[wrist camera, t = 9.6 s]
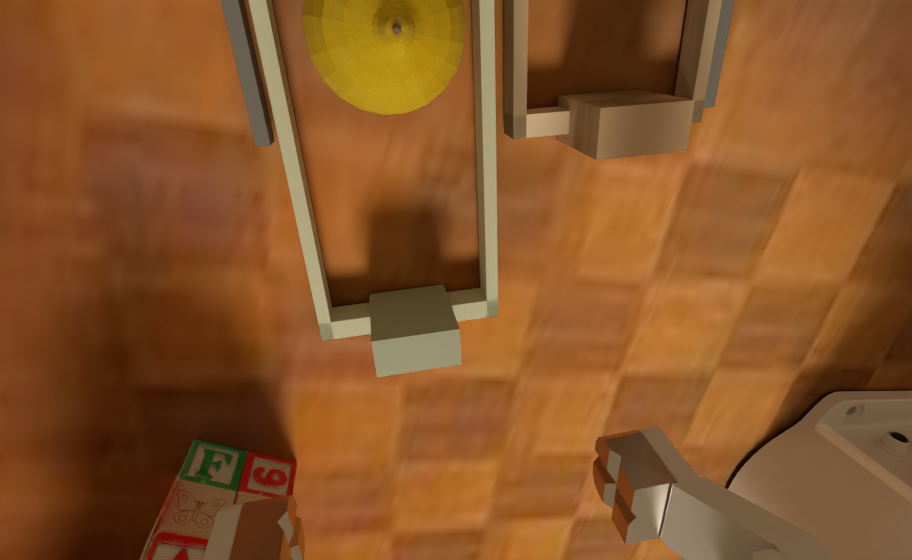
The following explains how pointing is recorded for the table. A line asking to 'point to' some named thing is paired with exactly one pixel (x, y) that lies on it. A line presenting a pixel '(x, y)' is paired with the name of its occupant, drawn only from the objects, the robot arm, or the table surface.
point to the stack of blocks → (212, 496)
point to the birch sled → (613, 96)
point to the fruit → (385, 49)
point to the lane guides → (254, 90)
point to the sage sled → (411, 310)
